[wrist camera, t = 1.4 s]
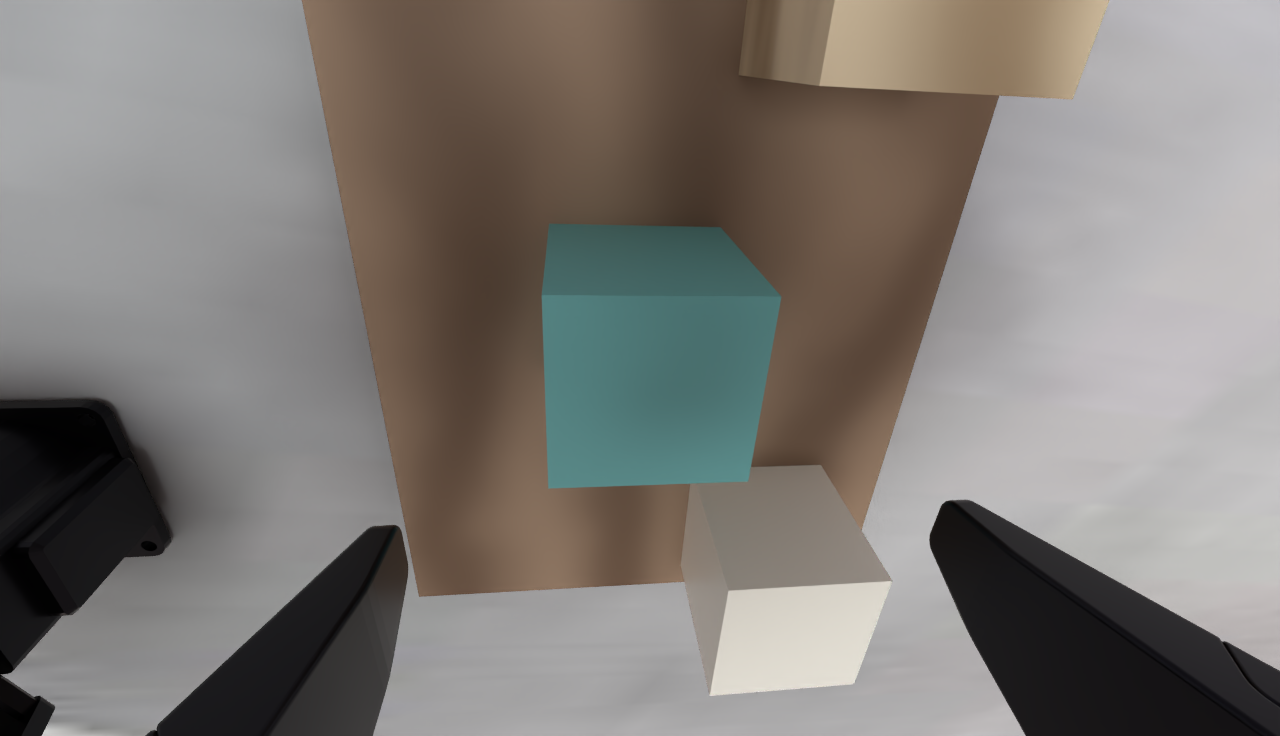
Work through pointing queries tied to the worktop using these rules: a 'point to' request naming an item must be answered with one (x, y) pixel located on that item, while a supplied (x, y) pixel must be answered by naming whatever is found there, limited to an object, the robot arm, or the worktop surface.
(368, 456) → the worktop surface
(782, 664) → the off-white block
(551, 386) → the teal block
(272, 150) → the worktop surface
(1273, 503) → the worktop surface
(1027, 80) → the birch block
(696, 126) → the walnut board
